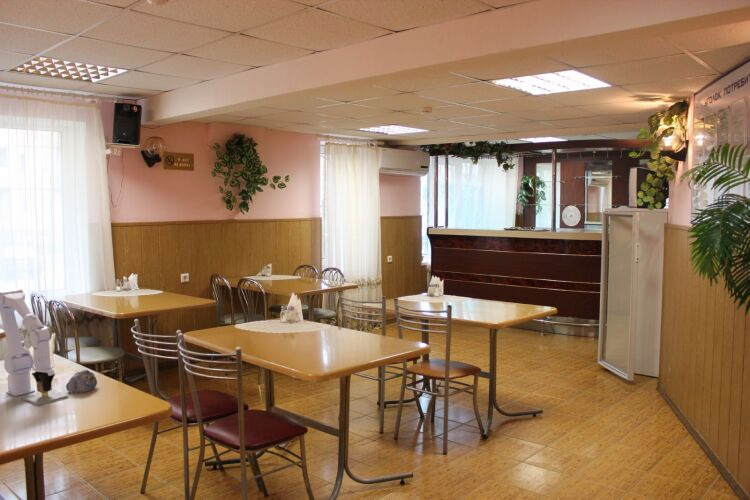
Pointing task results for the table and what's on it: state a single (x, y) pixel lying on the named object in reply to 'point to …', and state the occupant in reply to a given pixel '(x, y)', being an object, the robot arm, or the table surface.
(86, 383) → the rock
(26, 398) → the plate
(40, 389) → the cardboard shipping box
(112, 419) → the table surface
